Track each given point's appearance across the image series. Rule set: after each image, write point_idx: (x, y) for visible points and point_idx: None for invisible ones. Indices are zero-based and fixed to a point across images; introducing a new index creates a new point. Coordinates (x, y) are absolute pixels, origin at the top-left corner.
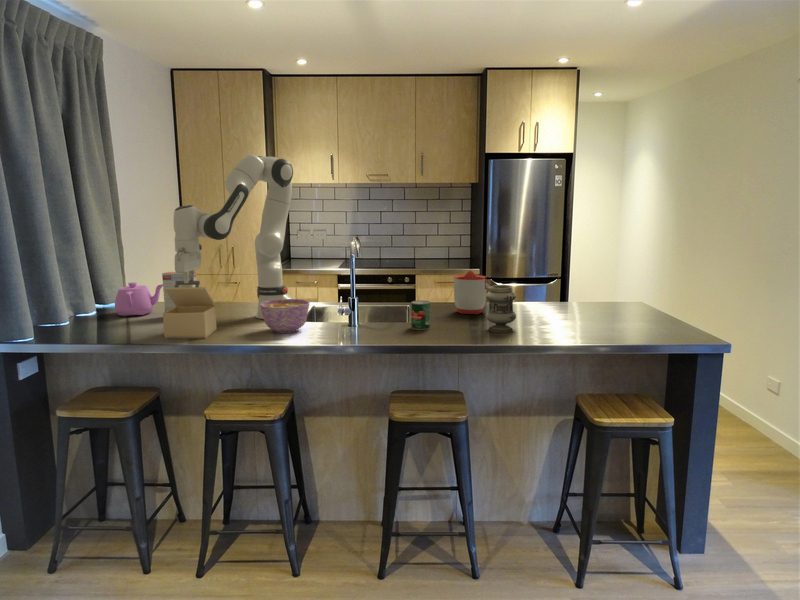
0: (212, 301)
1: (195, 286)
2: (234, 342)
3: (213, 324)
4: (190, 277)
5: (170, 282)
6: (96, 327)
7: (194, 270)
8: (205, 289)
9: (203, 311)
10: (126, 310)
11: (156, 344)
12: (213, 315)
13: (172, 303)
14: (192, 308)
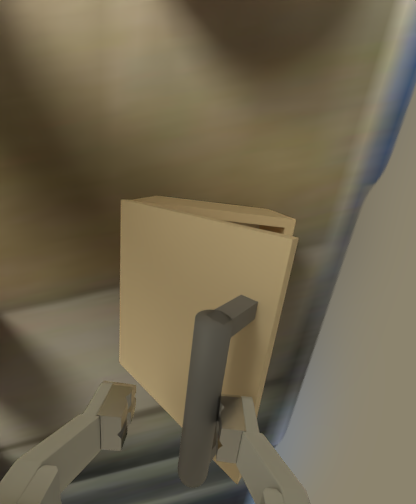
0: (160, 207)
1: (245, 325)
2: (350, 99)
3: (183, 200)
4: (119, 431)
5: None
6: (103, 476)
7: (11, 493)
8: (291, 237)
9: None
10: None
11: (308, 321)
12: (172, 201)
13: None
14: None
